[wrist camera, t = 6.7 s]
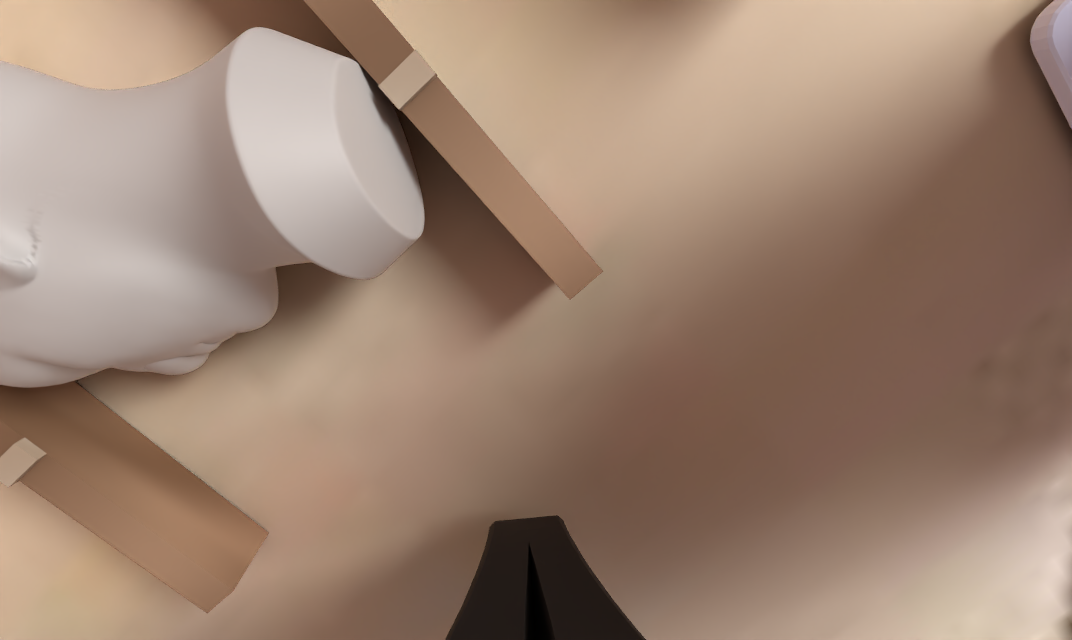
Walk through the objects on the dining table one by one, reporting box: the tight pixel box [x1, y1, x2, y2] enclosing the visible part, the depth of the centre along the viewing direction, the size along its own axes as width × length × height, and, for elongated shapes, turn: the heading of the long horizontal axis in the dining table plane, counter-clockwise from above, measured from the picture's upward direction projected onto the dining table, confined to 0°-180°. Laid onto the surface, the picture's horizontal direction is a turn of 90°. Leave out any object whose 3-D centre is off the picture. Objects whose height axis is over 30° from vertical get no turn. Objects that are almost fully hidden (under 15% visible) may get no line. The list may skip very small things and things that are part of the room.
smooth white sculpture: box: [0, 27, 425, 388], centre depth 8 cm, size 4×8×5 cm
